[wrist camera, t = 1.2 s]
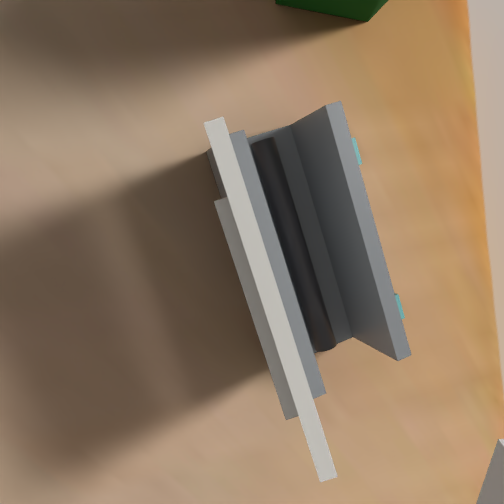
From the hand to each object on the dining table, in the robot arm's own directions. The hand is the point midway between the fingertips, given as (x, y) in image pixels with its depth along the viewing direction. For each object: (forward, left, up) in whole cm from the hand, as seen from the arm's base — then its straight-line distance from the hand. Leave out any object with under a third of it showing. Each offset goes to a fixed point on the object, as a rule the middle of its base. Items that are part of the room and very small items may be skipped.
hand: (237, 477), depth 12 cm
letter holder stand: (-1, +10, -21) cm, 23 cm away
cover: (-1, +5, -11) cm, 12 cm away
